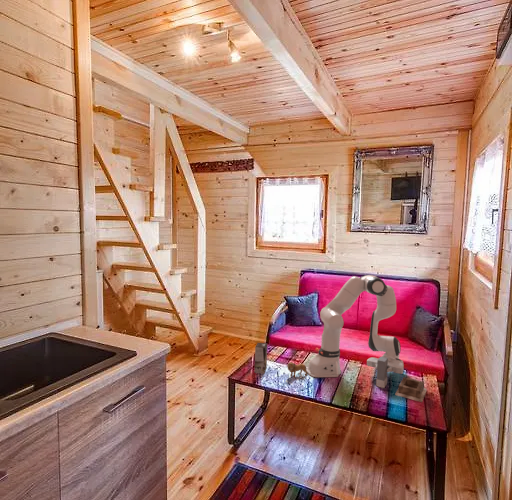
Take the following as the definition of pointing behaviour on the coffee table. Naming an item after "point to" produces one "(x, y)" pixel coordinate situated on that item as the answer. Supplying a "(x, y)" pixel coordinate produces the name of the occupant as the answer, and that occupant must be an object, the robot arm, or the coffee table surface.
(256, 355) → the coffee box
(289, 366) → the lion figurine
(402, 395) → the post block
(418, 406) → the coffee table surface
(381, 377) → the rail end
